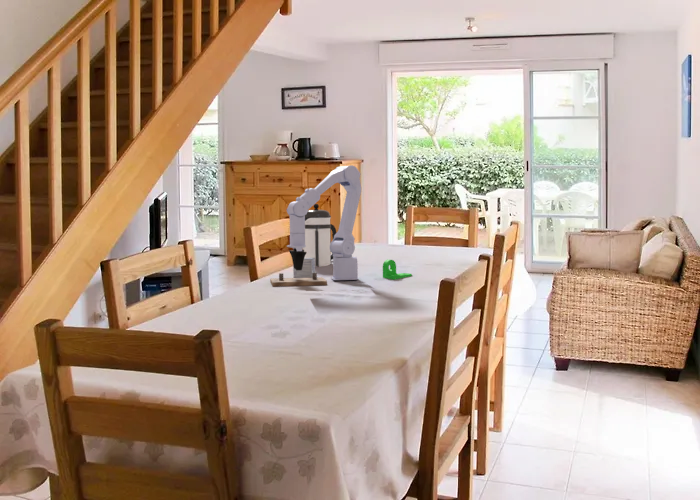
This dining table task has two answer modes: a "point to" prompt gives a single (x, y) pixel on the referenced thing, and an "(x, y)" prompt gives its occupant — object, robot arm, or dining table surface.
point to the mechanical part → (392, 271)
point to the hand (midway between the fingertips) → (297, 269)
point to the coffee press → (318, 236)
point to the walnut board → (298, 281)
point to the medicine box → (305, 269)
